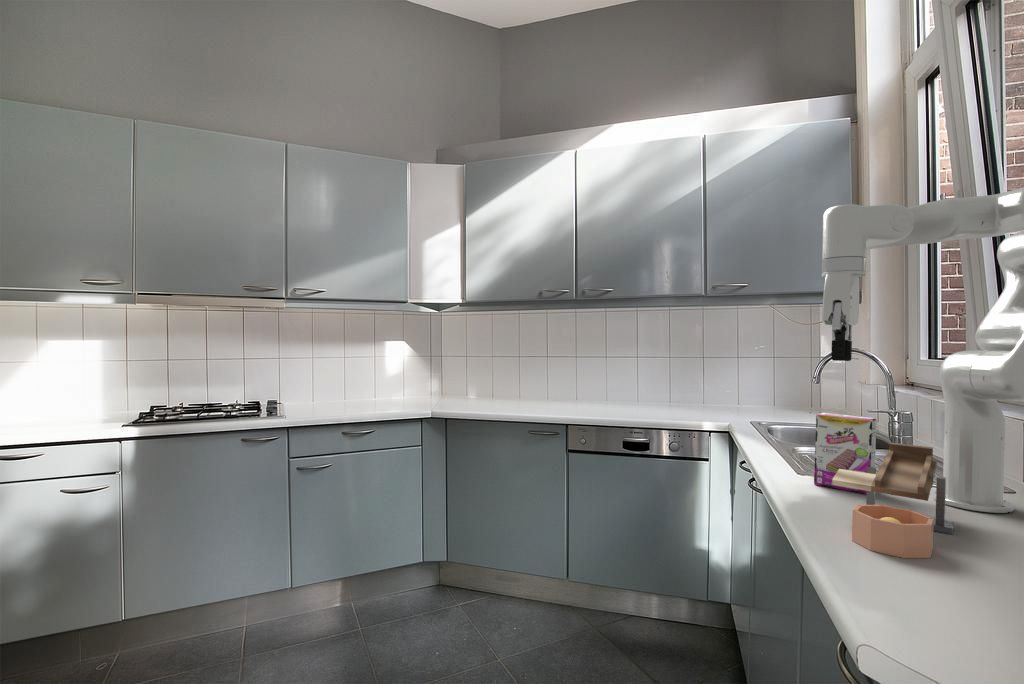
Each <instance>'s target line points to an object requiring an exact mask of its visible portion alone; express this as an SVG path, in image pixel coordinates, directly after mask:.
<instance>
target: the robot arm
mask: <svg viewBox="0 0 1024 684" xmlns="http://www.w3.org/2000/svg"><path fill="white" fill-rule="evenodd" d="M822 217H823V218H822V253H821V257H822V258H821V278H824V279H825V280H824V285H823V297H822V298H823V299H822V312H821V322H822V324H823V325H826V326H831V331H832V332H831V335H832V336H831V339H832V340H831V355H830V357H831V358H830V359H831V360H832V361H833V362H834V361H835V362H838V361H839V362H850V361H851V360H852V353H853V352H852V351H853V350H852V348H853V346H852V345H853V341H852V336H853V335H852V333H853V326H856V325H857V324H858V322H859V318H860V317H859V316H860V315H859V313H860V277H864V276H866V275H867V250H874V249H884V248H885V249H886V248H892V247H900V246H913V245H925V244H935V243H941V242H951V241H961V240H971V239H984V238H986V239H987V238H993V237H1000V236H1001V237H1002V236H1005V235H1009V236H1008V237H1006V238H1004V239H1003V240H1002V241H1001V243H999V246H998V248H997V251H996V252H997V253H996V258H997V261H998V265H999V266H1000V270H1001V273H1002V276H1003V280H1004V287H1003V290H1002V292H1001V294H1000V295H999V297H998V298H997V300H996V301H995V303H994V304H993V305H992V307H991V308H990V310H989V311H988V312H987V314H986V315H985V316H984V318H983V319H982V321H981V322H980V324H979V325H978V327H977V329H976V332H975V335H974V336H975V337H974V340H975V342H976V346H978V348H979V349H982V350H978V349H977V350H974V349H971V350H963V351H957V352H954V353H952V354H950V355H948V356H947V357H946V358H945V359H944V360H943V361H942V362H941V365H940V368H939V381H940V386H941V390H942V395H943V403H944V426H943V429H944V432H943V433H944V434H943V464H942V465H943V470H942V471H943V473H942V477H946V493H945V505H947V506H951V507H954V508H959V509H963V510H969V511H974V512H981V513H993V514H1008V512H1009V513H1012V512H1014V510H1015V509H1014V504H1013V503H1011V502H1010V501H1007V500H1005V499H1004V492H1005V491H1004V488H1005V487H1004V485H1005V484H1004V482H1005V448H1006V447H1005V445H1006V444H1005V443H1006V442H1005V441H1006V439H1005V438H1006V419H1005V416H1004V413H1003V409H1002V408H1001V406H1000V404H999V403H998V400H999V401H1009V402H1020V403H1021V402H1024V187H1019V188H1016V189H1012V190H1008V191H1005V192H1000V193H996V194H990V195H978V196H969V197H968V196H966V197H956V198H945V199H943V198H942V199H937V200H934V201H929V202H926V203H922V204H918V205H914V206H911V207H907V206H904V205H901V204H899V203H898V204H897V203H887V204H878V205H865V206H864V205H862V204H861V205H860V204H855V203H849V204H842V205H835V206H831V207H829V208H827V209H826V210H825V211H824V213H823V215H822ZM1010 234H1012V235H1010ZM932 495H933V499H934V500H935V501H936V491H934V492H933V494H932Z"/></svg>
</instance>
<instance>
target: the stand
mask: <svg viewBox="0 0 1024 684" xmlns="http://www.w3.org/2000/svg"><path fill="white" fill-rule="evenodd" d="M867 473H871V474H877V467H876V466H875V467H868V468H867ZM935 486H936V490H935V492H936V500H935V518H934V517H932V518H933V519H934V520H933V532H938V533H943V534H948V535H953V533H954V528H955V522H954V521H952V520H946V504H945V493H946V477H943V476H937V477H936V485H935ZM876 493H877V492H872V491H867V494H866V504H865V505H876Z"/></svg>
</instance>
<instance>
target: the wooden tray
mask: <svg viewBox="0 0 1024 684" xmlns="http://www.w3.org/2000/svg"><path fill="white" fill-rule="evenodd" d="M933 453H934V448H933V447H932V446H924V445H923V446H922V445H915V444H906V443H899V442H898V443H897V442H889V444H888V452H887V453H885V455H884V458H883V460H882V462H881V464H880V466H879V468H878V470H877V471H876V474H871V473H864V472H857V471H851V470H844V469H839V470H838V471H837V473H836V474H835V476H834V478H833V479H832V485H836V486H842V487H848V488H854V489H860V490H866V491H872V492H876V493H879V494H884V495H890V496H896V497H901V498H909V499H915V500H919V501H926V502H929V498H930V494H931V491H932V489H933V486H934V485H933V484H934V478H935V475H936V470H937V465H938V460H936V459H934V458H933V457H934V456H933V455H934V454H933Z"/></svg>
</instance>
